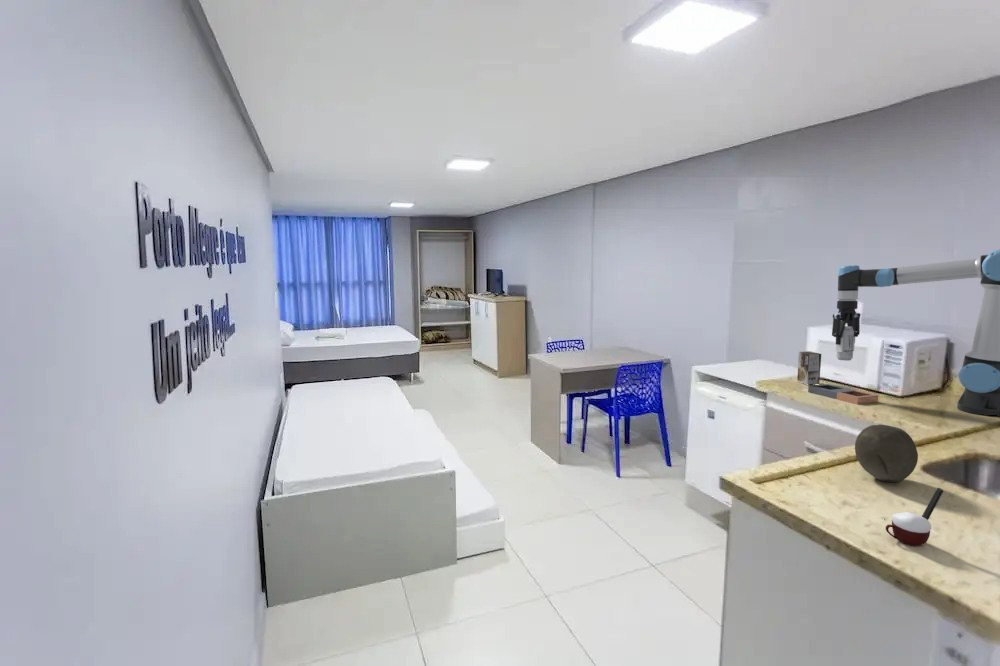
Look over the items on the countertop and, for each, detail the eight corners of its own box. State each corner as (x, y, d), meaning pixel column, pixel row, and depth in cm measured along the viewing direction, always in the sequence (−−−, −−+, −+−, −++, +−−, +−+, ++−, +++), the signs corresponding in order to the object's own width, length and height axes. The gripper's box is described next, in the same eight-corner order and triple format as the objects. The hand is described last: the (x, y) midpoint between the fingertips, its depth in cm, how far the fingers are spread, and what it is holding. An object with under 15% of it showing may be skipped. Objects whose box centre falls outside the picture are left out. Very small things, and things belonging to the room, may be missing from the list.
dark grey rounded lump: (930, 487, 129) (935, 432, 127) (884, 492, 127) (889, 436, 125) (881, 467, 143) (885, 417, 141) (838, 470, 141) (842, 420, 139)
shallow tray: (808, 391, 233) (808, 385, 233) (827, 390, 237) (827, 383, 236) (857, 404, 210) (857, 397, 210) (878, 402, 214) (878, 395, 213)
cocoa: (885, 544, 103) (887, 490, 102) (883, 530, 109) (884, 478, 107) (945, 555, 98) (948, 499, 97) (939, 540, 103) (942, 486, 102)
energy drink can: (847, 361, 218) (848, 327, 216) (833, 359, 223) (834, 326, 222) (855, 360, 220) (857, 326, 218) (841, 358, 225) (843, 325, 224)
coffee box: (820, 385, 246) (822, 353, 245) (807, 385, 246) (809, 354, 245) (809, 381, 255) (810, 351, 254) (796, 381, 256) (798, 351, 254)
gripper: (855, 299, 225) (852, 348, 227) (823, 300, 220) (821, 351, 222) (871, 299, 218) (869, 351, 220) (838, 301, 213) (836, 353, 215)
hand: (844, 351), depth 221 cm, fingers closed on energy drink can, 6 cm apart
